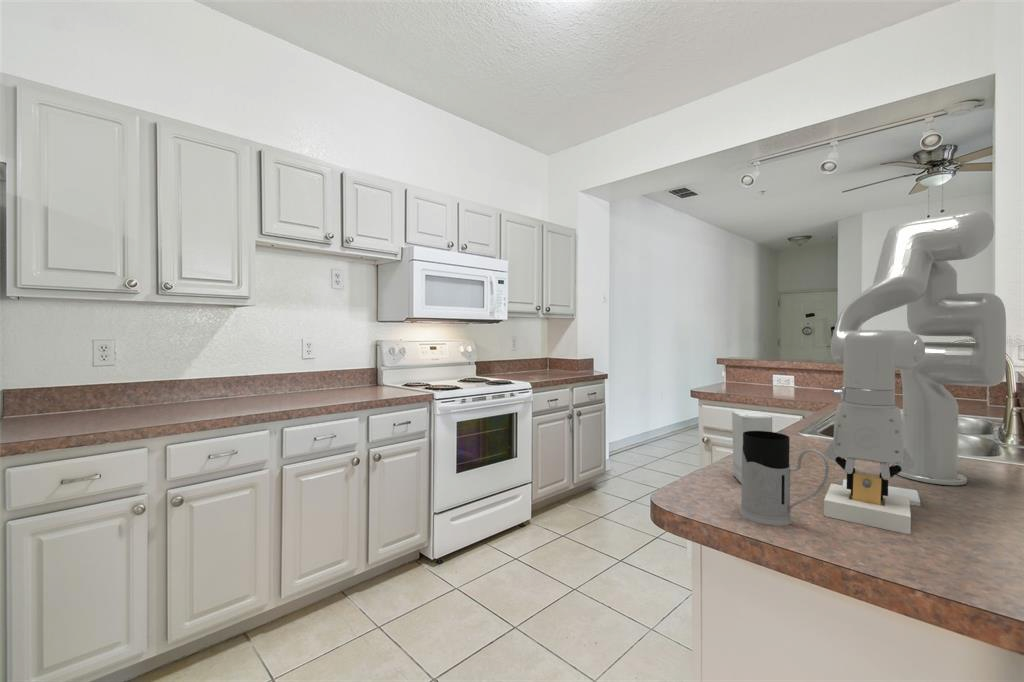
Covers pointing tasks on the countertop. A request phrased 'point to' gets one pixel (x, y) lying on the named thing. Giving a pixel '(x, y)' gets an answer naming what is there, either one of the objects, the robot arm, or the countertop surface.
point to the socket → (868, 510)
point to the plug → (867, 487)
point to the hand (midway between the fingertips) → (867, 495)
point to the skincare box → (743, 424)
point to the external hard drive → (901, 493)
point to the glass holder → (769, 478)
